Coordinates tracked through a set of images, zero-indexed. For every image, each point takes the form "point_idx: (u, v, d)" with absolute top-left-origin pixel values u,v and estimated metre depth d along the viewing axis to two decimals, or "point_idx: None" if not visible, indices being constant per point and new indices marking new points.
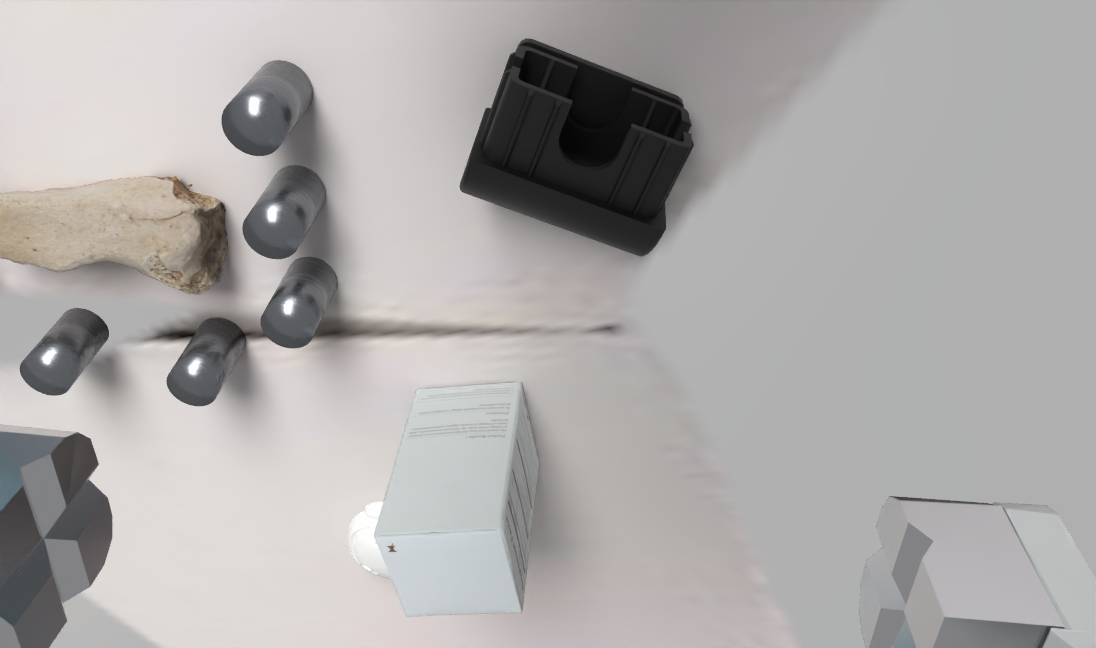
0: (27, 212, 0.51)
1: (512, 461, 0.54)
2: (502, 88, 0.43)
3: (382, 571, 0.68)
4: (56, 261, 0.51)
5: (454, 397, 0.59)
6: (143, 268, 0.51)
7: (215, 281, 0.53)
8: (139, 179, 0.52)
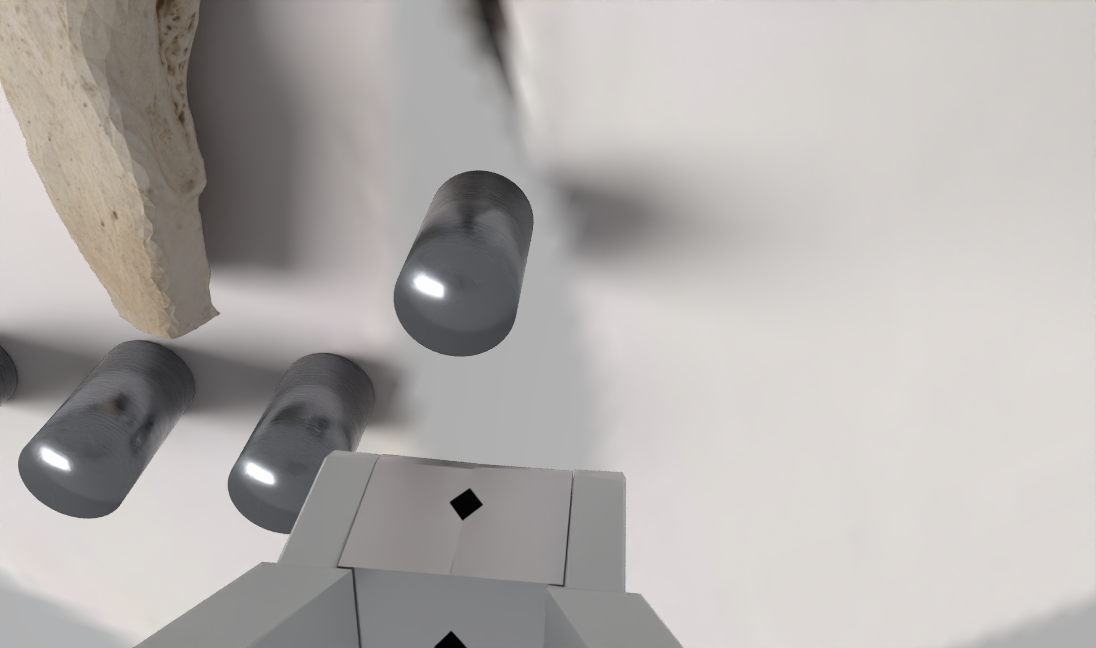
0: (58, 208, 0.24)
1: None
2: None
3: None
4: (116, 172, 0.22)
5: None
6: None
7: None
8: None
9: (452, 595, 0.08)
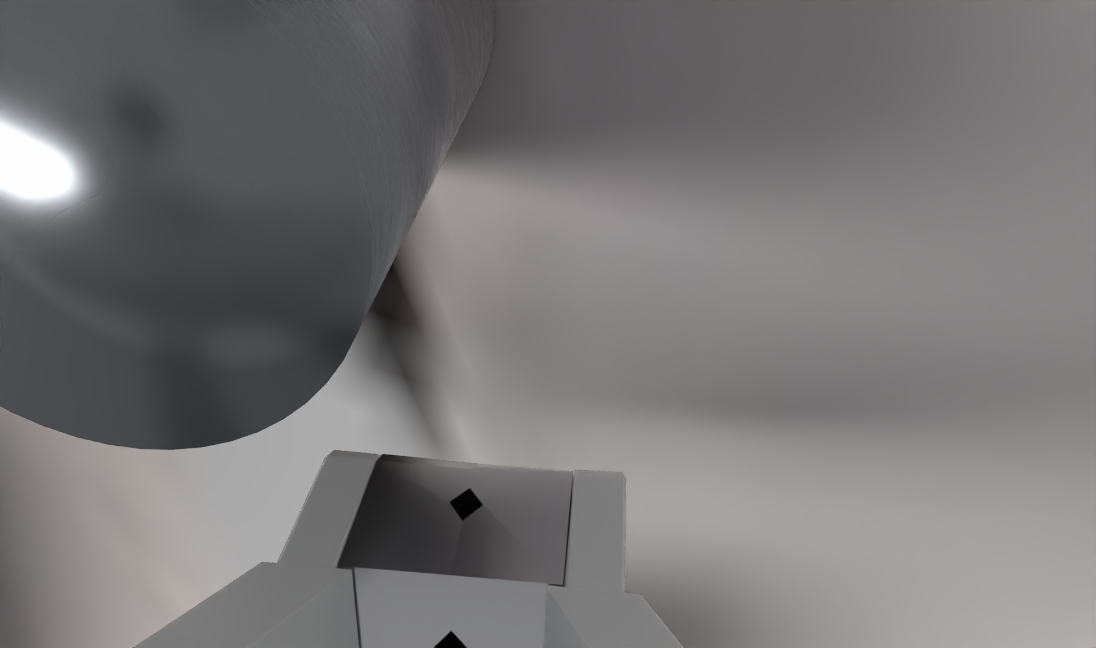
0: None
1: None
2: None
3: None
4: None
5: None
6: None
7: None
8: None
9: (452, 595, 0.08)
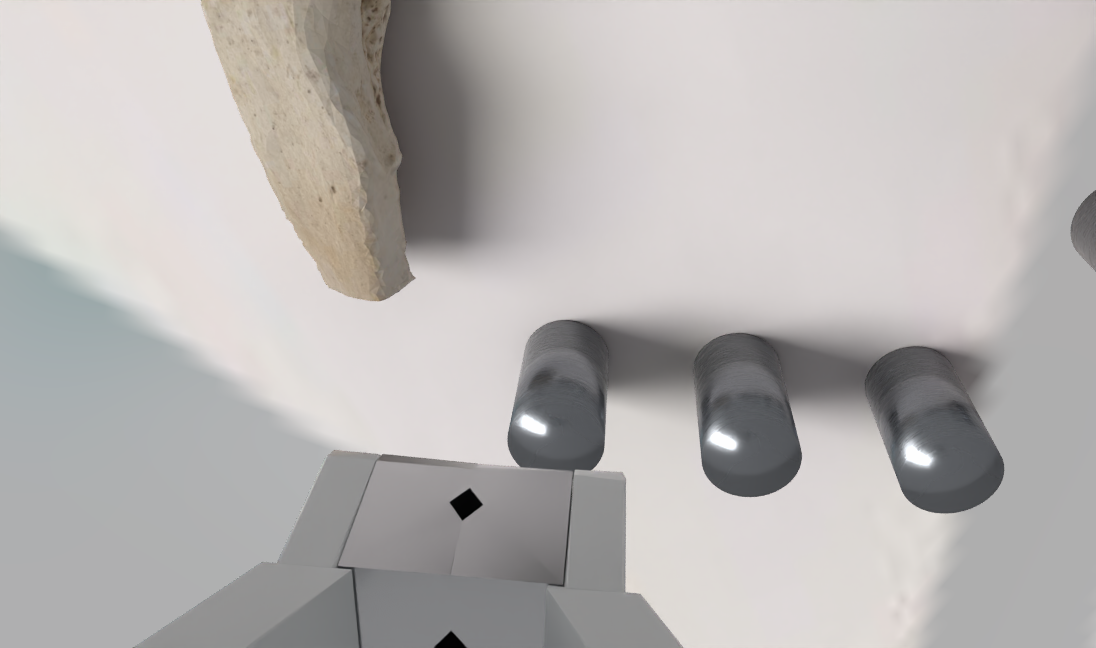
0: (279, 191, 0.27)
1: None
2: None
3: None
4: (336, 149, 0.25)
5: None
6: None
7: None
8: None
9: (454, 595, 0.08)
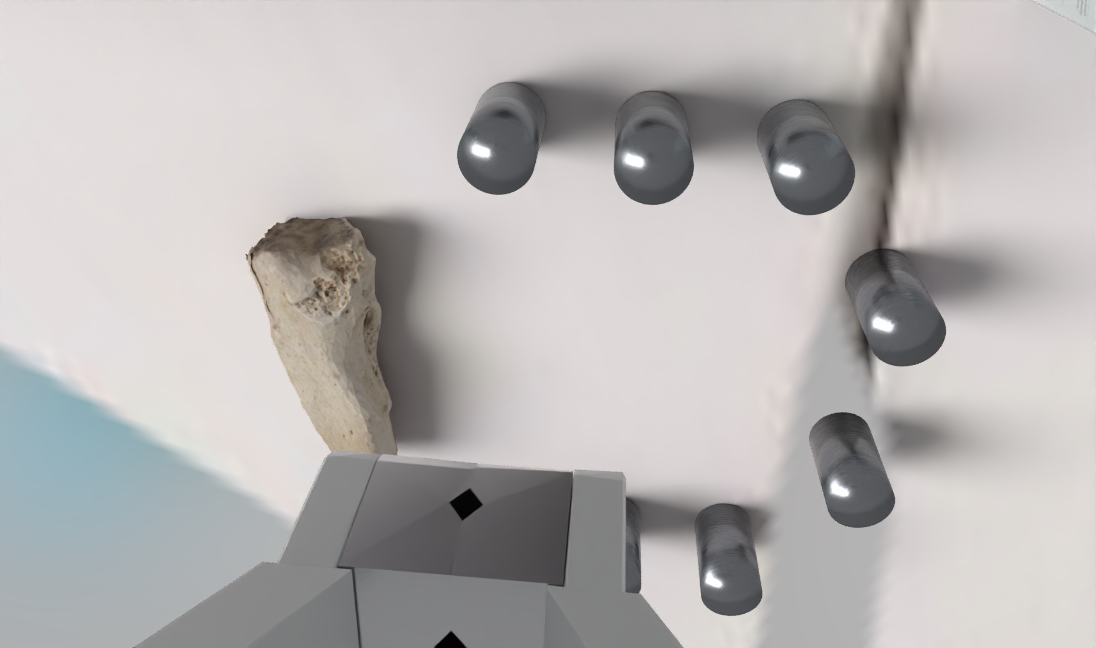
0: (318, 429, 0.45)
1: None
2: None
3: None
4: (352, 413, 0.43)
5: None
6: (329, 322, 0.41)
7: (350, 238, 0.40)
8: None
9: (454, 595, 0.08)
